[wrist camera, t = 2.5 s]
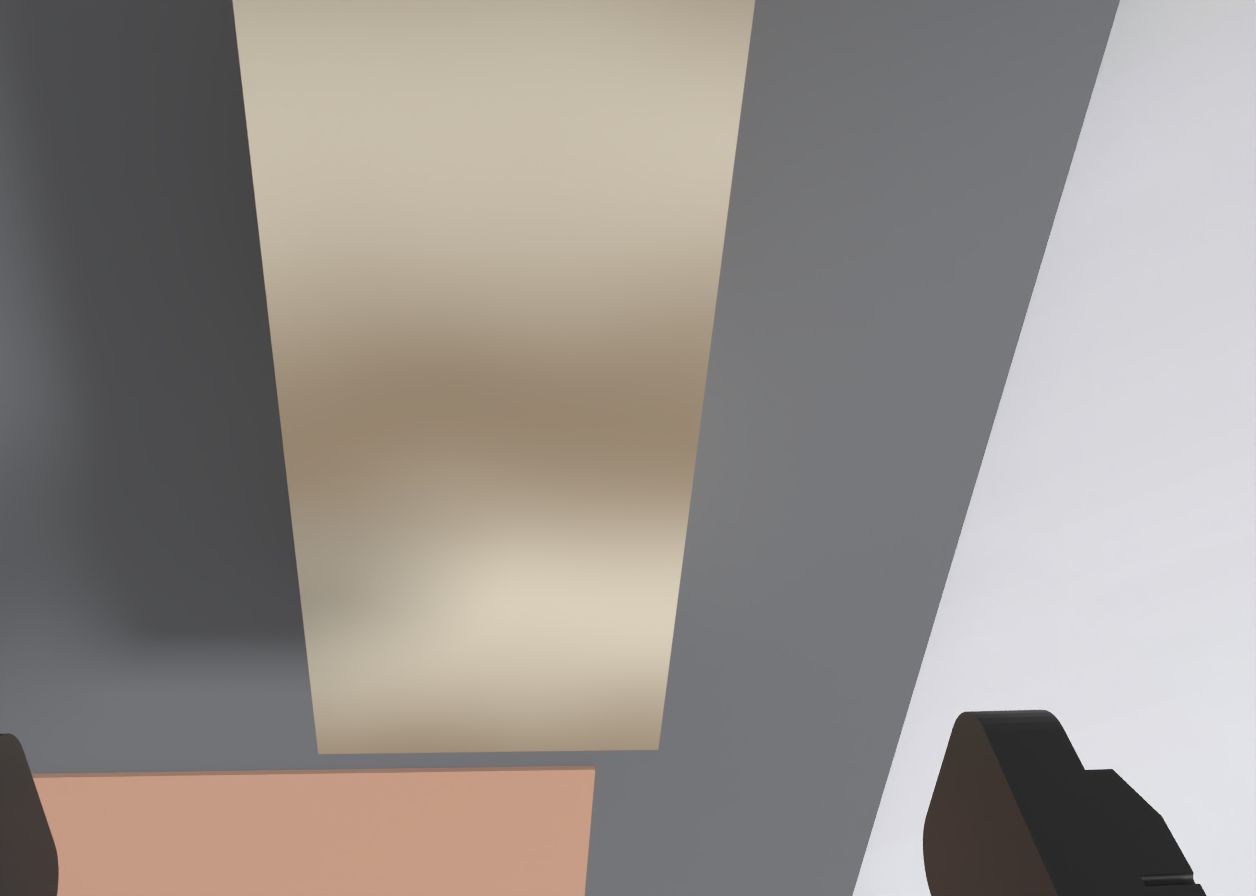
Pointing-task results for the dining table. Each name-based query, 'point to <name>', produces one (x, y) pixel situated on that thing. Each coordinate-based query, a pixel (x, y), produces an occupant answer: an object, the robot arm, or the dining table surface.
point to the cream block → (491, 349)
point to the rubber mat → (720, 500)
